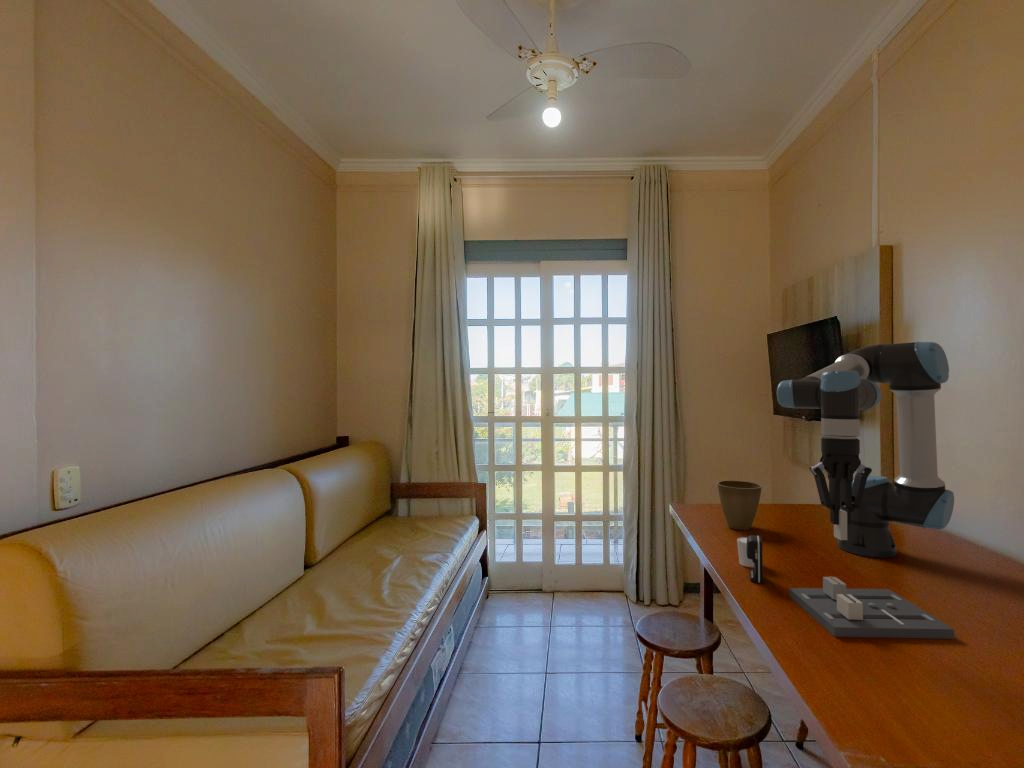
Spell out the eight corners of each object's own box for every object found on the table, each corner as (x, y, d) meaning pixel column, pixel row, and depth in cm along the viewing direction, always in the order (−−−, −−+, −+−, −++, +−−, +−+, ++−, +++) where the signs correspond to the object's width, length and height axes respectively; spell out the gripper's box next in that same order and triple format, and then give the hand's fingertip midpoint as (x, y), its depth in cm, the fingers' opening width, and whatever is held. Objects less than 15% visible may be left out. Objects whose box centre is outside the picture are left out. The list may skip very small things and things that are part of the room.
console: (888, 597, 124) (888, 586, 124) (954, 638, 104) (953, 626, 104) (788, 595, 126) (788, 585, 126) (834, 636, 106) (834, 624, 106)
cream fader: (850, 610, 113) (850, 593, 113) (862, 619, 108) (862, 601, 108) (836, 610, 113) (836, 592, 113) (848, 619, 108) (848, 601, 108)
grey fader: (835, 591, 122) (835, 575, 122) (846, 599, 118) (846, 583, 118) (823, 591, 123) (822, 575, 123) (833, 599, 118) (833, 582, 118)
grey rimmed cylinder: (765, 568, 144) (765, 544, 144) (740, 567, 145) (739, 543, 145) (758, 560, 151) (758, 537, 151) (734, 559, 152) (734, 536, 152)
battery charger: (746, 573, 141) (746, 532, 141) (761, 574, 140) (761, 534, 140) (747, 582, 135) (746, 540, 135) (762, 584, 133) (762, 541, 133)
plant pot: (760, 535, 174) (759, 489, 174) (714, 529, 182) (714, 485, 182) (764, 524, 186) (763, 482, 186) (721, 519, 194) (721, 478, 194)
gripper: (859, 435, 119) (859, 534, 119) (802, 435, 120) (803, 533, 120) (880, 438, 112) (880, 544, 112) (819, 438, 113) (820, 542, 113)
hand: (840, 538), depth 116 cm, fingers closed
